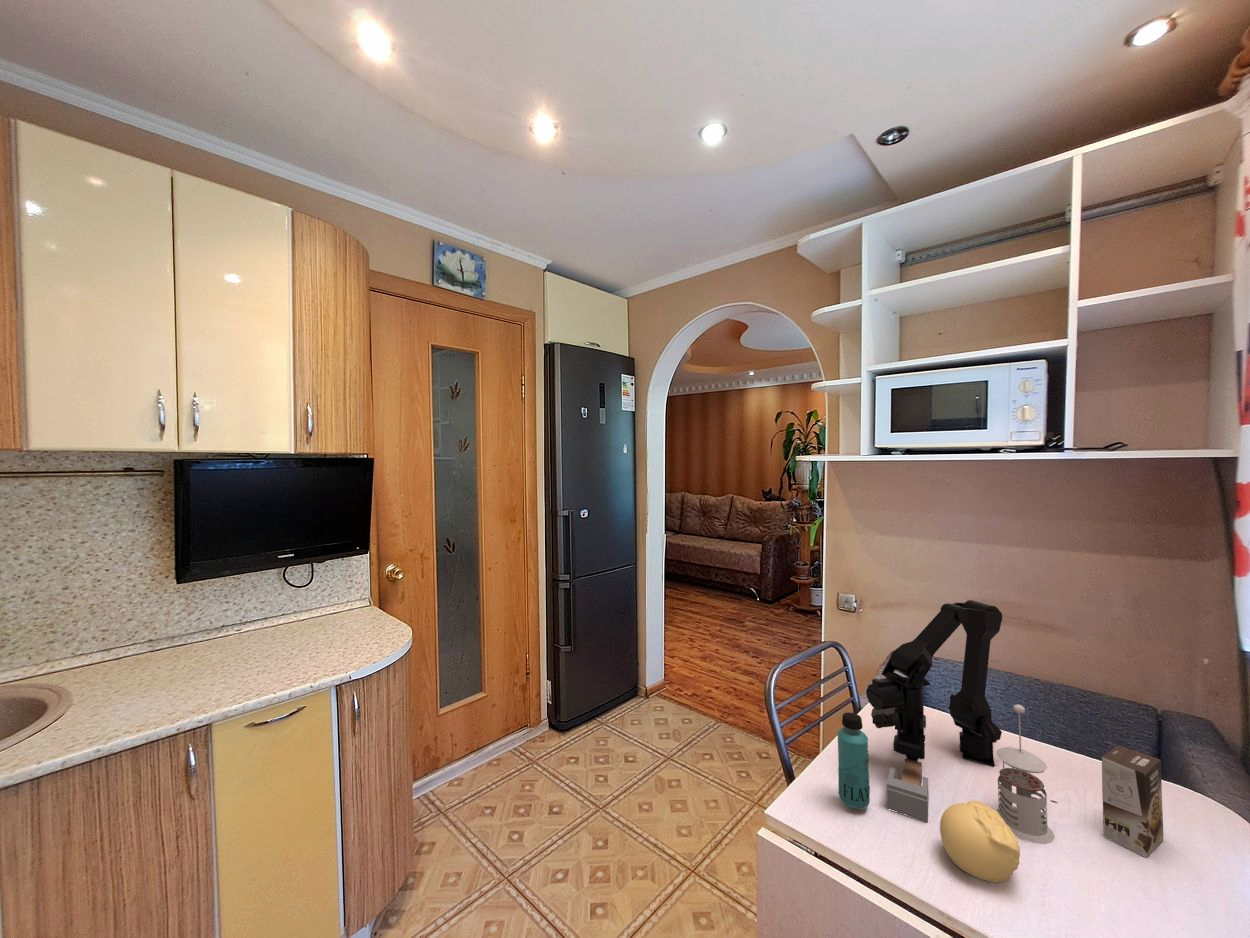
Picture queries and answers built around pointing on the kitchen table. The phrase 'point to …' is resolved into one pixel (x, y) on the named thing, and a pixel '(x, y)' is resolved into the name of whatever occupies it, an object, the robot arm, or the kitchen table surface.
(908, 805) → the endcap
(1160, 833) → the coffee box
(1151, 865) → the kitchen table surface
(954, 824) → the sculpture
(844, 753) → the beverage bottle
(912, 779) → the slat
